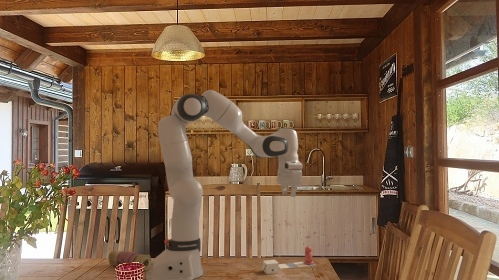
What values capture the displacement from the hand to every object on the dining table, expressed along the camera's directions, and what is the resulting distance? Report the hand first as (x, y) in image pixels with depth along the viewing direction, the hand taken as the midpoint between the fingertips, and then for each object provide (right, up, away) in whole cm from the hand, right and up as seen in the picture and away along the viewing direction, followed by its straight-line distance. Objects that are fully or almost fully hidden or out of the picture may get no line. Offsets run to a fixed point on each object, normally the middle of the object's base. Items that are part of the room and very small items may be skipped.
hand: (288, 195), depth 170 cm
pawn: (+8, -28, -7) cm, 30 cm away
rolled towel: (-68, -30, -7) cm, 75 cm away
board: (+2, -29, -9) cm, 30 cm away
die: (-10, -26, -15) cm, 32 cm away
